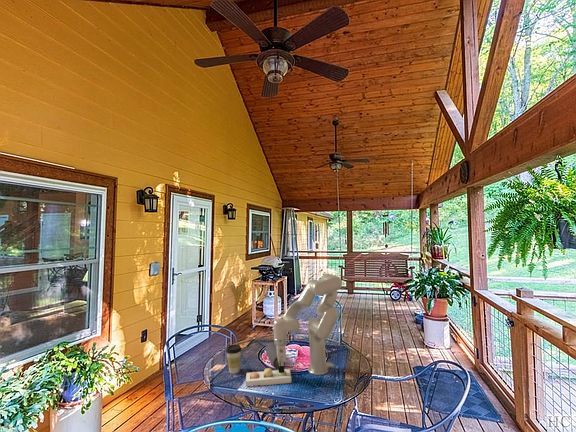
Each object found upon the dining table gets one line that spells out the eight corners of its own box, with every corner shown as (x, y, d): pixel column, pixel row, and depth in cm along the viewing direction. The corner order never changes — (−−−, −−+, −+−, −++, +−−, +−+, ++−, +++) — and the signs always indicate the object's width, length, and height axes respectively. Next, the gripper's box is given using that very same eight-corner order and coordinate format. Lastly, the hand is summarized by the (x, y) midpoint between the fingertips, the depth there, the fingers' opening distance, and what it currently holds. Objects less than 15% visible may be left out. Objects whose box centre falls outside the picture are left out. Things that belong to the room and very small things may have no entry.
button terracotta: (258, 377, 179) (258, 372, 179) (258, 381, 174) (258, 376, 174) (251, 378, 178) (250, 373, 178) (250, 382, 174) (250, 376, 174)
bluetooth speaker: (264, 357, 208) (264, 342, 208) (277, 355, 210) (277, 340, 210) (272, 372, 186) (271, 356, 186) (286, 370, 188) (286, 354, 188)
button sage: (285, 374, 180) (285, 369, 180) (286, 378, 176) (285, 373, 176) (278, 375, 180) (277, 370, 180) (278, 379, 175) (278, 374, 175)
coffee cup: (239, 375, 184) (238, 350, 184) (224, 374, 186) (223, 350, 186) (244, 367, 193) (243, 344, 194) (230, 367, 195) (229, 343, 196)
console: (289, 373, 183) (289, 369, 183) (291, 382, 173) (291, 377, 173) (246, 377, 181) (246, 372, 181) (245, 386, 171) (245, 381, 171)
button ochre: (271, 372, 179) (271, 367, 180) (272, 376, 175) (272, 371, 175) (264, 373, 179) (264, 368, 179) (264, 377, 175) (264, 372, 175)
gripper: (287, 345, 171) (289, 378, 171) (285, 335, 186) (286, 365, 186) (274, 346, 170) (275, 379, 170) (273, 336, 185) (274, 366, 185)
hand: (281, 372), depth 178 cm, fingers closed
